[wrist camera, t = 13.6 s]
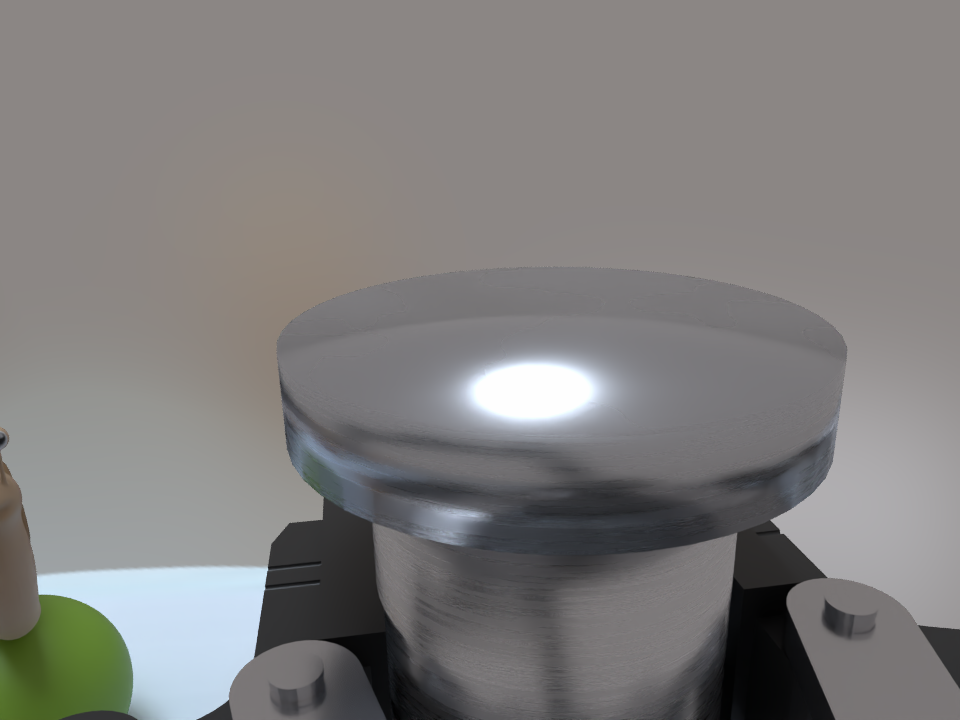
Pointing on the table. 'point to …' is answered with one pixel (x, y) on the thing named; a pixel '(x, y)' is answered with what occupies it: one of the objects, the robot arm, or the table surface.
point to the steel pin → (559, 475)
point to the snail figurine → (50, 634)
